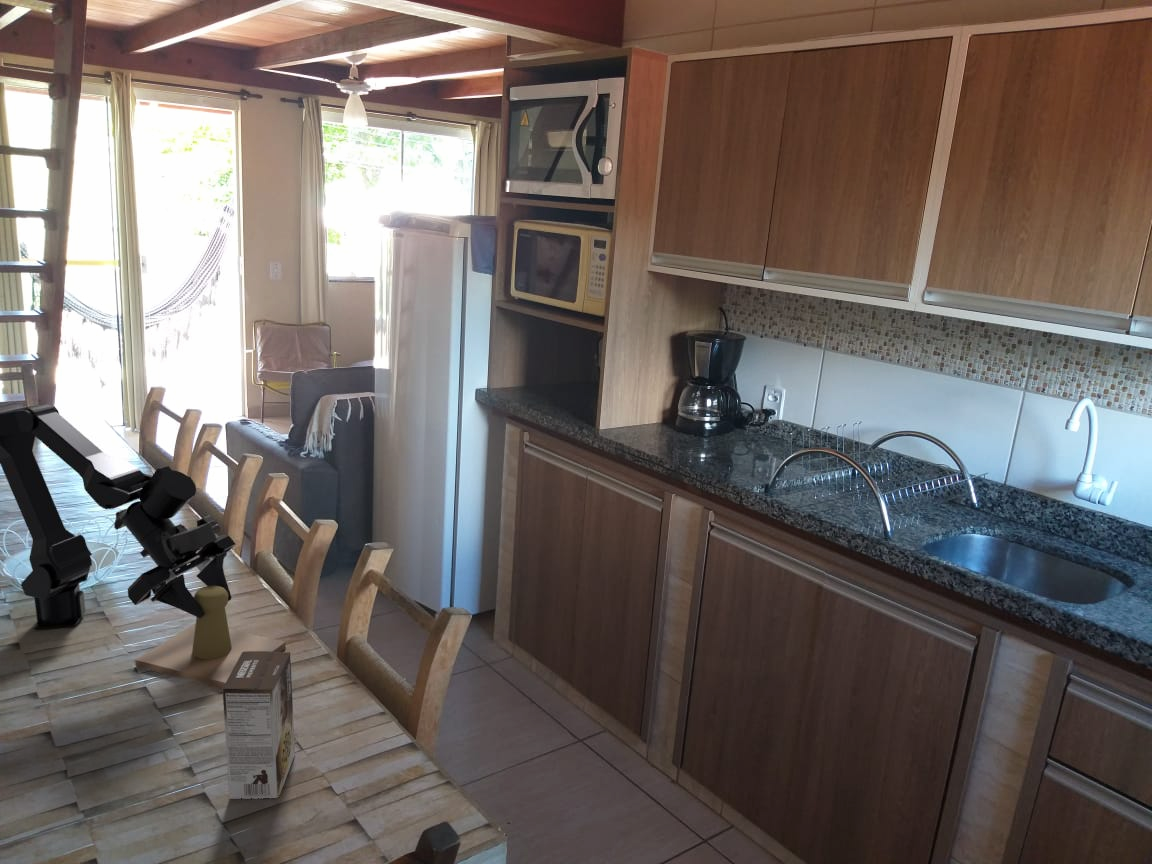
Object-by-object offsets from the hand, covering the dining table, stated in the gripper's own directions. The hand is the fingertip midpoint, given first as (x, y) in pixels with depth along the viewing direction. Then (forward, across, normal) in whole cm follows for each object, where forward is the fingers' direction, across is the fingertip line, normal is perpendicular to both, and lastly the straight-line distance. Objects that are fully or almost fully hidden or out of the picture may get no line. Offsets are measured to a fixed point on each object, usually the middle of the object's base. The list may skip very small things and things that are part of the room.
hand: (216, 608), depth 136 cm
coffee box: (+24, -22, -11) cm, 35 cm away
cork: (+5, 0, +7) cm, 8 cm away
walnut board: (+6, 0, +7) cm, 9 cm away
